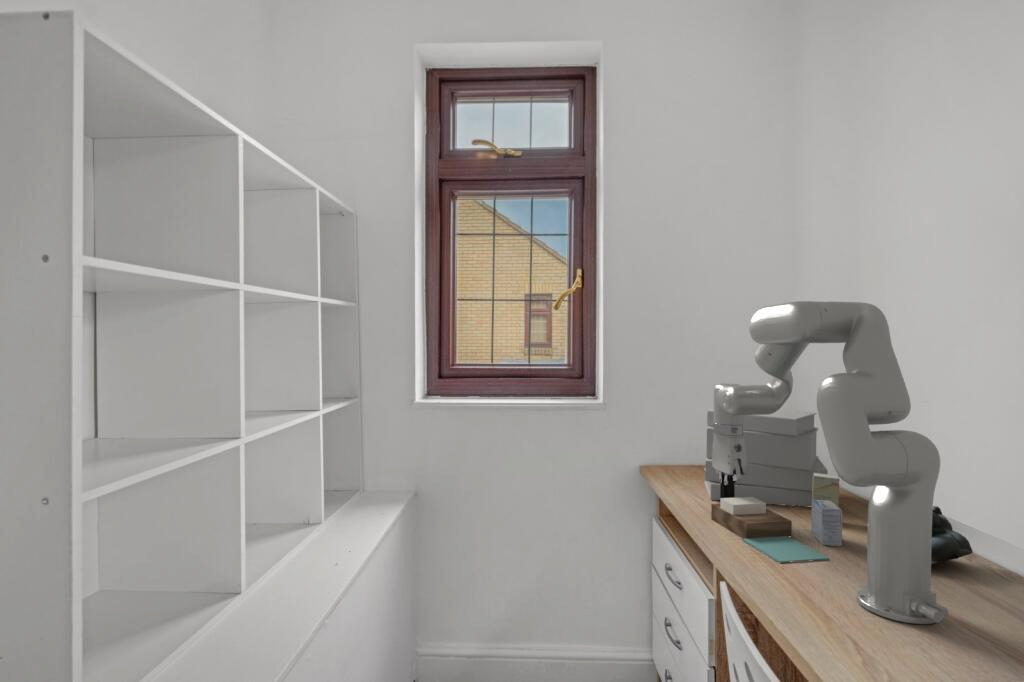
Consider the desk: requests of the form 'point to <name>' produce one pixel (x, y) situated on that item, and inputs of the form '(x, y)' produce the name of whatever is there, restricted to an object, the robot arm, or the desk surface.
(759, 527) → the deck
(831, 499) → the skincare box
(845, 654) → the desk surface
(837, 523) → the medicine box
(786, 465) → the book stack
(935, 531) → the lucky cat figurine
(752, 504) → the white rectangular block
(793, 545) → the mat
